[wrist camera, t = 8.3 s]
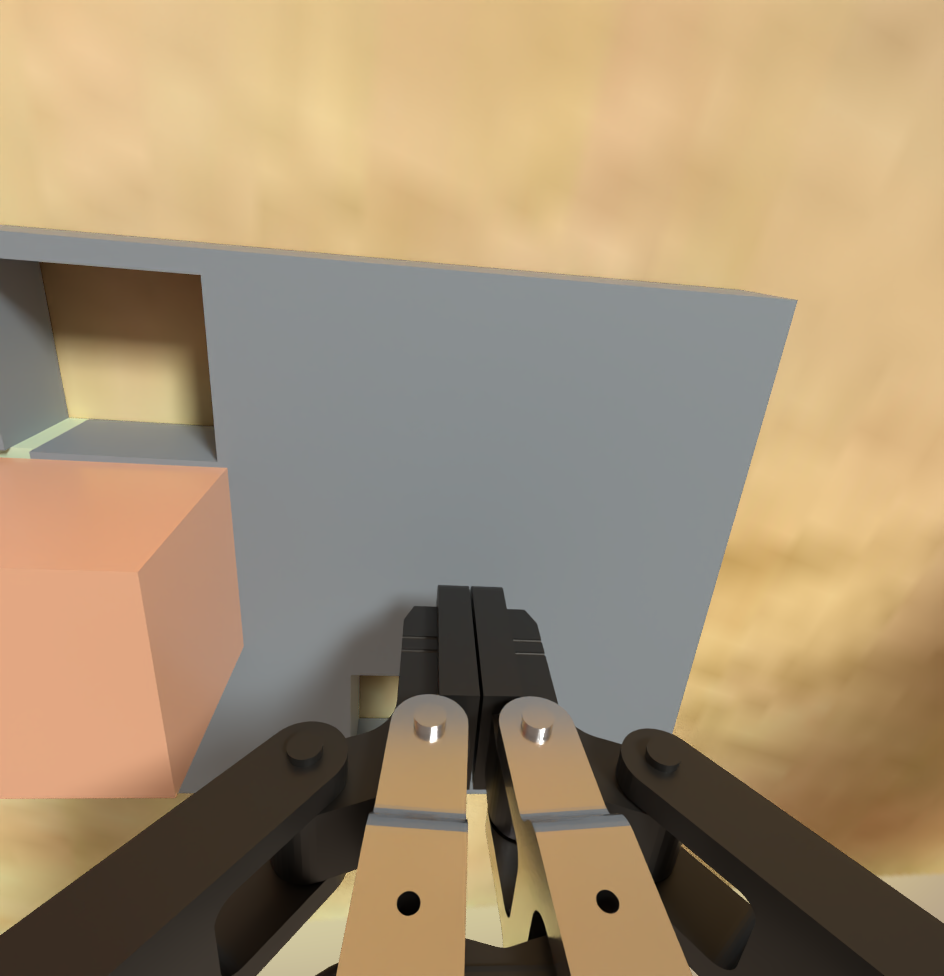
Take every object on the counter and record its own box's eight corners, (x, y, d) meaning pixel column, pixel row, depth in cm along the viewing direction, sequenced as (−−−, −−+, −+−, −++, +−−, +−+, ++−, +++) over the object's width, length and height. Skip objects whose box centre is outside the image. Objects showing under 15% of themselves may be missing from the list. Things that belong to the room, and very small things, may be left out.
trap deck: (741, 290, 15) (859, 311, 11) (629, 732, 21) (679, 855, 17) (-271, 200, 13) (-601, 185, 9) (-78, 723, 19) (-222, 863, 15)
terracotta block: (227, 467, 13) (138, 572, 9) (243, 646, 15) (175, 797, 11) (-107, 452, 13) (-363, 556, 9) (-46, 640, 15) (-230, 799, 11)
